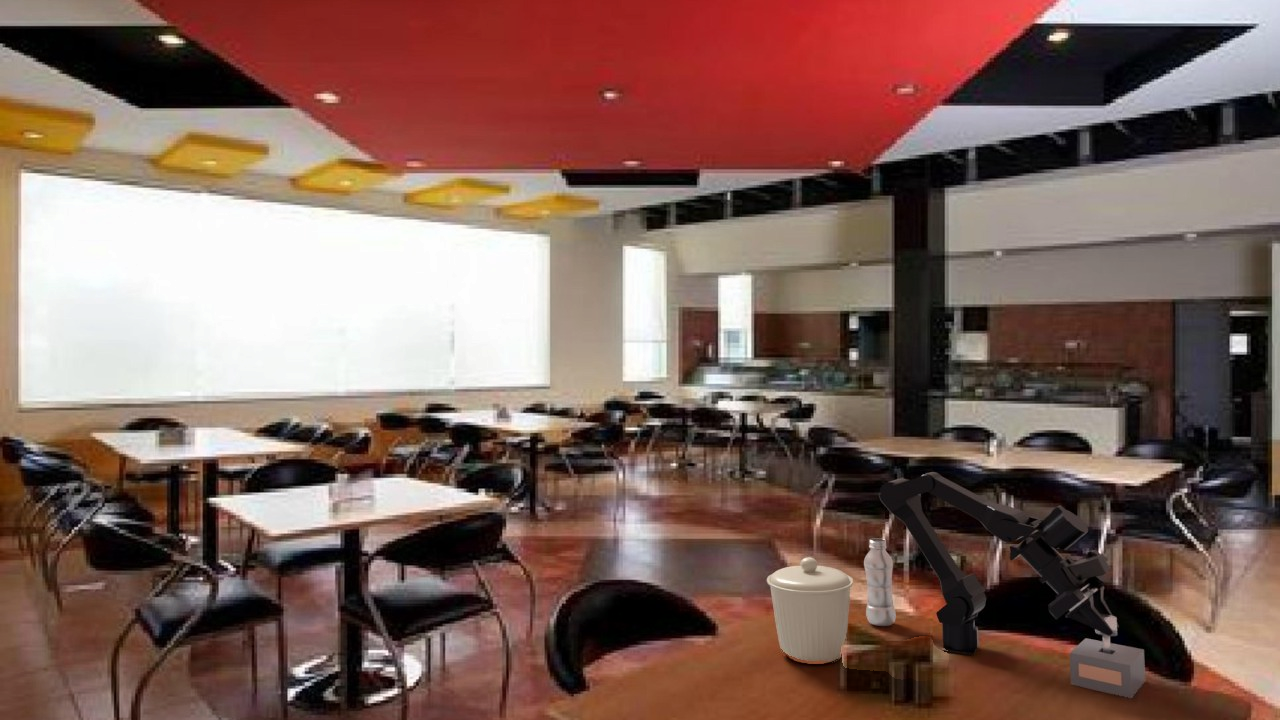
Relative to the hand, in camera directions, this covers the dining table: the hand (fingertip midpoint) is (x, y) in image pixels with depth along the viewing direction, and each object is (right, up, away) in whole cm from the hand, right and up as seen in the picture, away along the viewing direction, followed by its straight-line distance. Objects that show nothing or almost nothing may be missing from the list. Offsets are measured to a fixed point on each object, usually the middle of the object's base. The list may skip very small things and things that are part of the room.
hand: (1114, 631), depth 150 cm
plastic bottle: (-32, -12, +38) cm, 51 cm away
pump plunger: (-1, -6, +1) cm, 6 cm away
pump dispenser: (-1, -10, +1) cm, 10 cm away
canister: (-52, -12, +20) cm, 58 cm away
